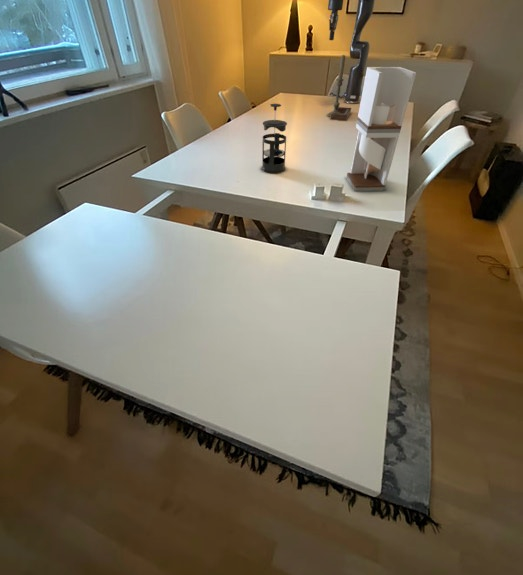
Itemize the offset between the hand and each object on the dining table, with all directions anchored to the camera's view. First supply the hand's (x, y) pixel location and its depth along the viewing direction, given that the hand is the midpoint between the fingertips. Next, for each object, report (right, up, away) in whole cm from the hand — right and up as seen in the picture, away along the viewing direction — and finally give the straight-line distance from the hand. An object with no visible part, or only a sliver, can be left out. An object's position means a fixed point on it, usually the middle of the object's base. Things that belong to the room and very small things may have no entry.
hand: (331, 40), depth 177 cm
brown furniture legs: (+8, -36, +12) cm, 39 cm away
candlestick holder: (+5, -35, +13) cm, 38 cm away
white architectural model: (-1, -100, -60) cm, 117 cm away
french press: (-34, -90, -49) cm, 108 cm away
